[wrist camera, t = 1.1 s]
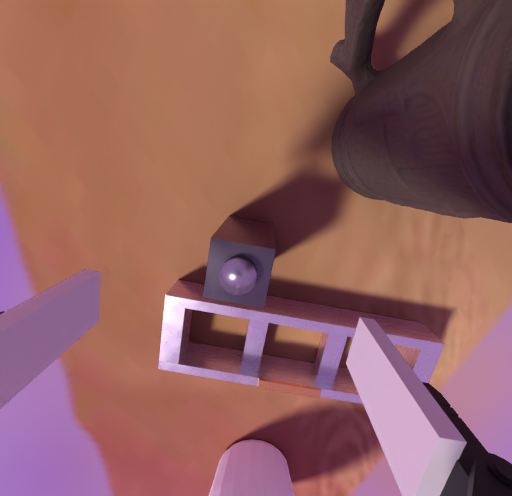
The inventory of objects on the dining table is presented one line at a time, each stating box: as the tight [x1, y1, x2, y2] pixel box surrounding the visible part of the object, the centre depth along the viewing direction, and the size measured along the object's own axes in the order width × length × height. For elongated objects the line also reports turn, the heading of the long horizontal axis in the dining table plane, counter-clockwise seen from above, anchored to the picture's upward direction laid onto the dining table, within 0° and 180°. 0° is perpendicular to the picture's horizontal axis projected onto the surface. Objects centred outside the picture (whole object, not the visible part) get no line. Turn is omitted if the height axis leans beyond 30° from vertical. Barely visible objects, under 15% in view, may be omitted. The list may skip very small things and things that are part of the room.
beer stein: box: [330, 0, 512, 223], centre depth 17 cm, size 15×11×20 cm
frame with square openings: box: [158, 280, 444, 404], centre depth 30 cm, size 8×28×4 cm, turn 80°
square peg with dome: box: [203, 216, 276, 308], centre depth 24 cm, size 4×4×11 cm
